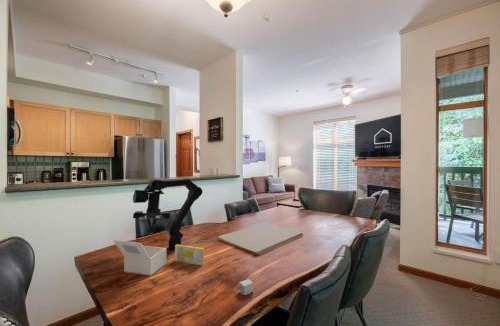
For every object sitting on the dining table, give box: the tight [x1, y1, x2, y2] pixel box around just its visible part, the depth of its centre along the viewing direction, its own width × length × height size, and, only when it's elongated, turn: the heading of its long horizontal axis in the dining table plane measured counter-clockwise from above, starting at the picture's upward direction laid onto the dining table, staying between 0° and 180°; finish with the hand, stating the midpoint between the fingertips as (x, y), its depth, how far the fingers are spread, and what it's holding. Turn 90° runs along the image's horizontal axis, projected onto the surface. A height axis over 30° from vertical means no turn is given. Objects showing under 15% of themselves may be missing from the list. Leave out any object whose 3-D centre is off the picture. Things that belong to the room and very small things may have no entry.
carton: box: [123, 245, 167, 277], centre depth 110 cm, size 12×14×8 cm
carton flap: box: [112, 239, 150, 259], centre depth 101 cm, size 11×14×1 cm
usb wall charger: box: [233, 278, 254, 296], centre depth 91 cm, size 4×7×4 cm, turn 126°
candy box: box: [174, 244, 205, 267], centre depth 116 cm, size 16×2×8 cm, turn 71°
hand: (151, 230), depth 126 cm, fingers closed
